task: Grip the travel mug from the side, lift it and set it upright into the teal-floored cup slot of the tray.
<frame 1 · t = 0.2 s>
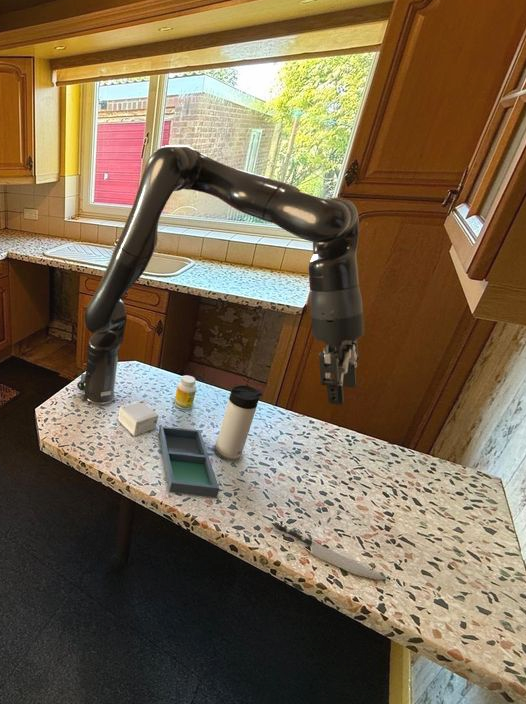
hand: (342, 394, 75), 31 cm above the countertop, tool tilted 20°, fingers open, 8 cm apart
tray: (184, 463, 102), on the countertop
travel mug: (228, 453, 105), on the countertop
chef's knife: (325, 556, 79), on the countertop
small box: (136, 425, 115), on the countertop
supplement bottle: (182, 405, 124), on the countertop
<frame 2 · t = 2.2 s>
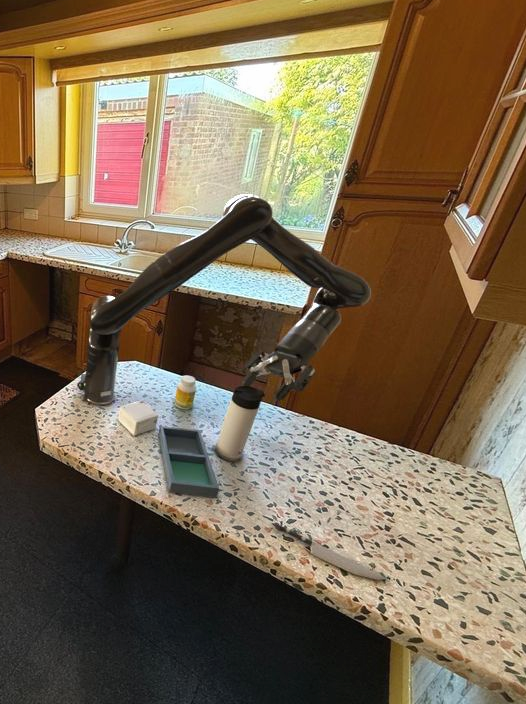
hand: (259, 392, 95), 20 cm above the countertop, tool tilted 50°, fingers open, 8 cm apart
nothing on the countertop moved.
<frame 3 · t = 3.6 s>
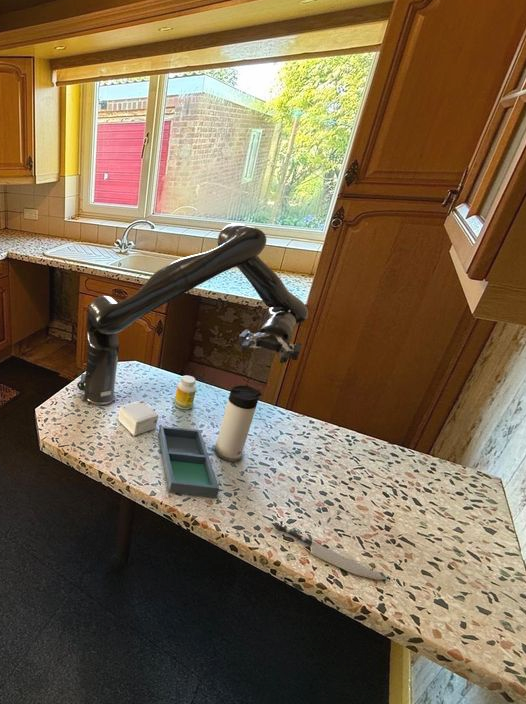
hand: (263, 354, 101), 25 cm above the countertop, tool horizontal, fingers open, 8 cm apart
nothing on the countertop moved.
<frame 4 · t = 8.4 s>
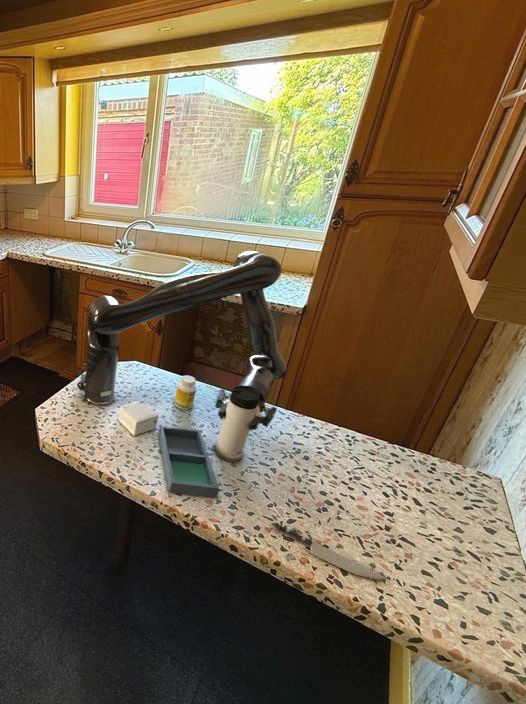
hand: (236, 421, 98), 12 cm above the countertop, tool horizontal, fingers closed on travel mug, 6 cm apart
travel mug: (227, 453, 105), on the countertop, touching gripper
everything else where it was.
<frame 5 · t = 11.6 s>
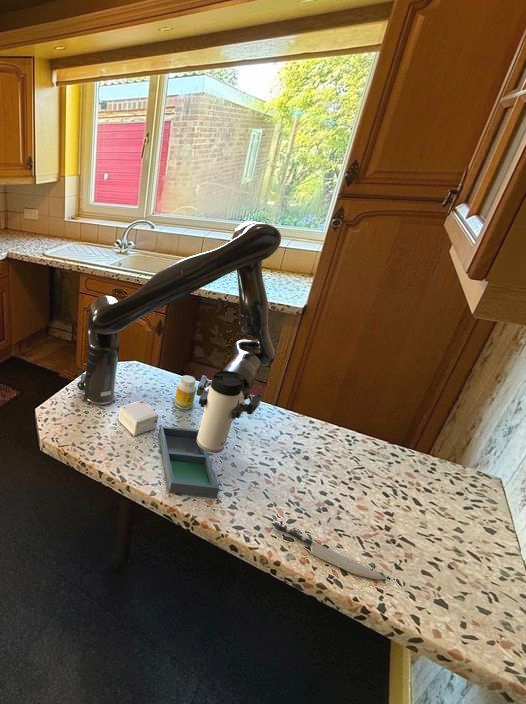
hand: (218, 409, 90), 20 cm above the countertop, tool horizontal, fingers closed on travel mug, 6 cm apart
travel mug: (210, 445, 97), point 7 cm above the countertop, touching gripper
everything else where it was.
when the fingers open (13 cm above the countertop, at t = 14.8 s): travel mug stays where it is, resting on tray.
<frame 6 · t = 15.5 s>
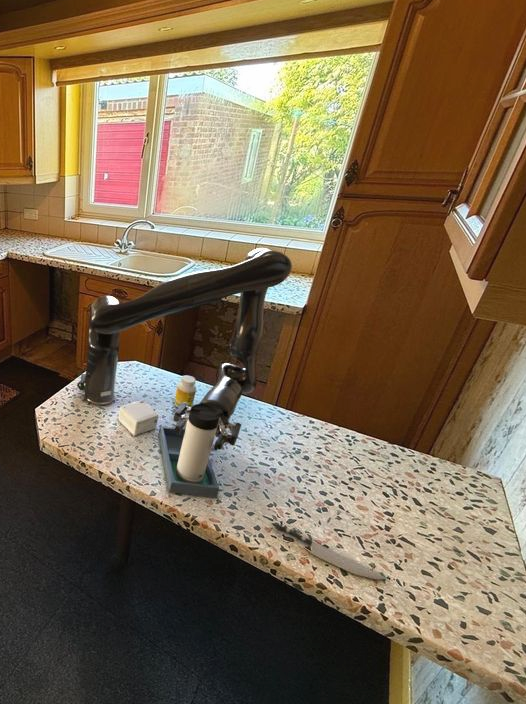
hand: (196, 438, 90), 13 cm above the countertop, tool horizontal, fingers open, 8 cm apart
travel mug: (189, 476, 97), point 1 cm above the countertop, touching tray
everything else where it was.
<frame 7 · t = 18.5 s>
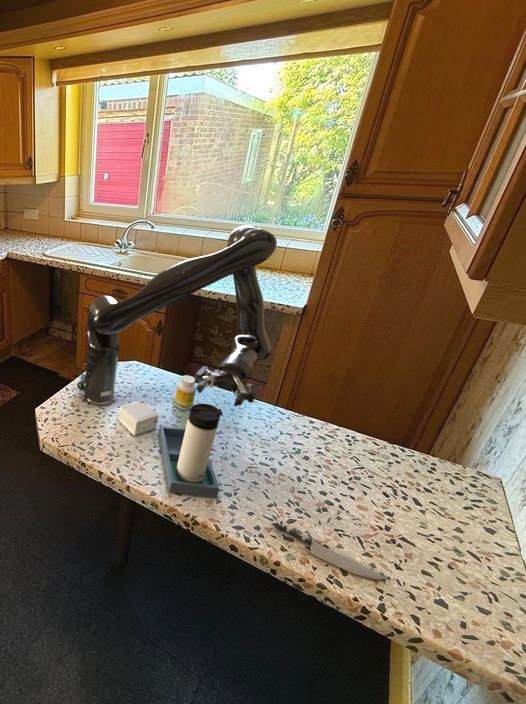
hand: (217, 396, 97), 18 cm above the countertop, tool horizontal, fingers open, 8 cm apart
nothing on the countertop moved.
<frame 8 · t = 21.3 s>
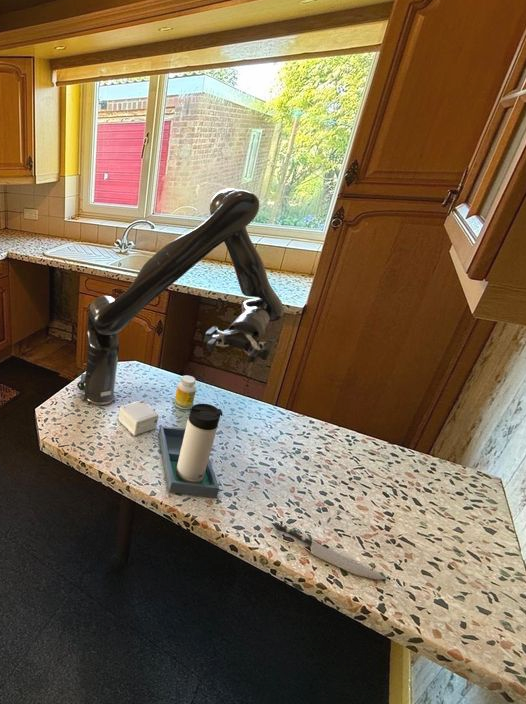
hand: (229, 353, 92), 30 cm above the countertop, tool horizontal, fingers open, 8 cm apart
nothing on the countertop moved.
at the end: travel mug 0.2 cm from the target spot in the tray, point 0.5 cm above the tray's base; travel mug tilted 0°; the gripper is holding nothing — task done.
